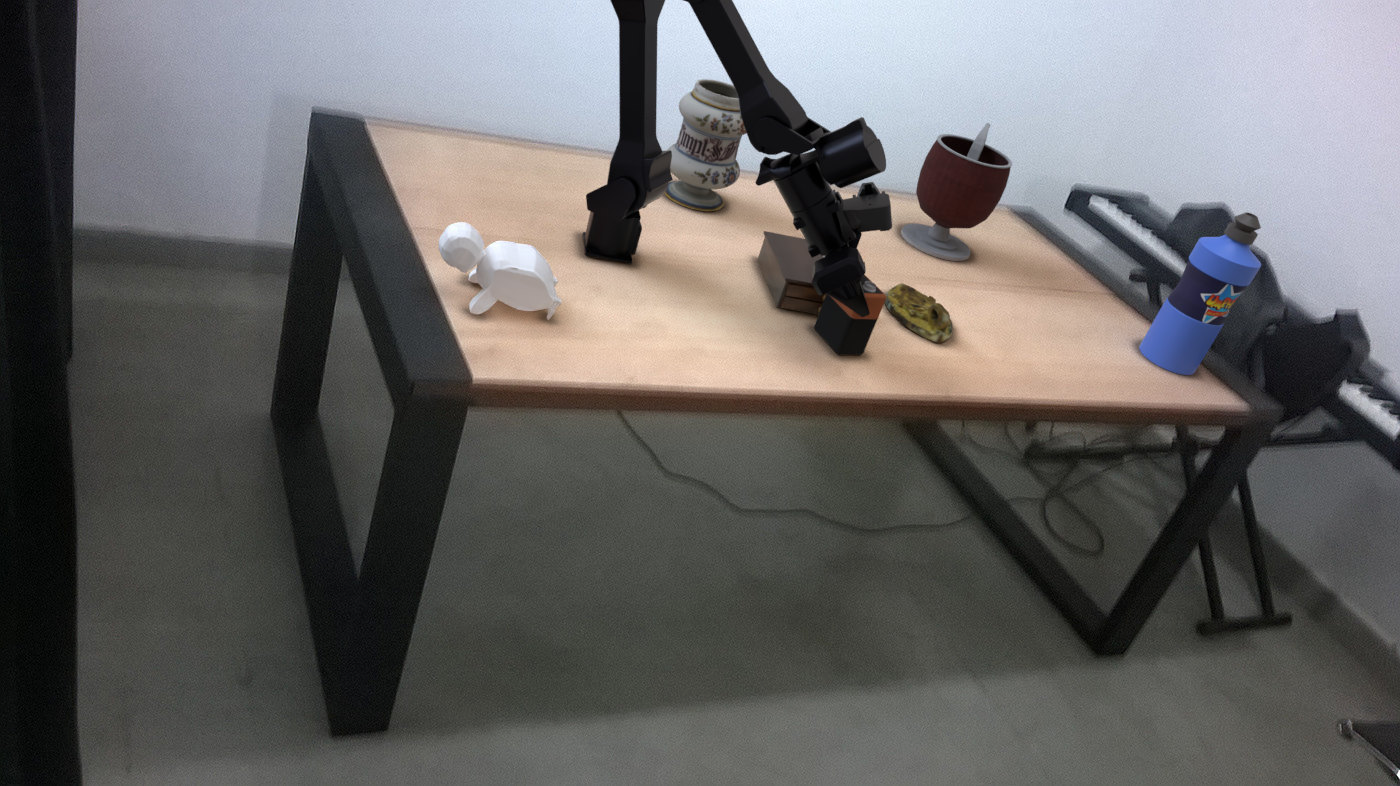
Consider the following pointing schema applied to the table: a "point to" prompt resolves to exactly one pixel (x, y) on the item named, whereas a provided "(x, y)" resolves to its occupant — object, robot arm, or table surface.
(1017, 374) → the table surface
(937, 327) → the olive oval relief
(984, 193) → the mate gourd
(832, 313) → the battery
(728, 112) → the apothecary jar
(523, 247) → the white turtle figurine
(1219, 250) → the water bottle
